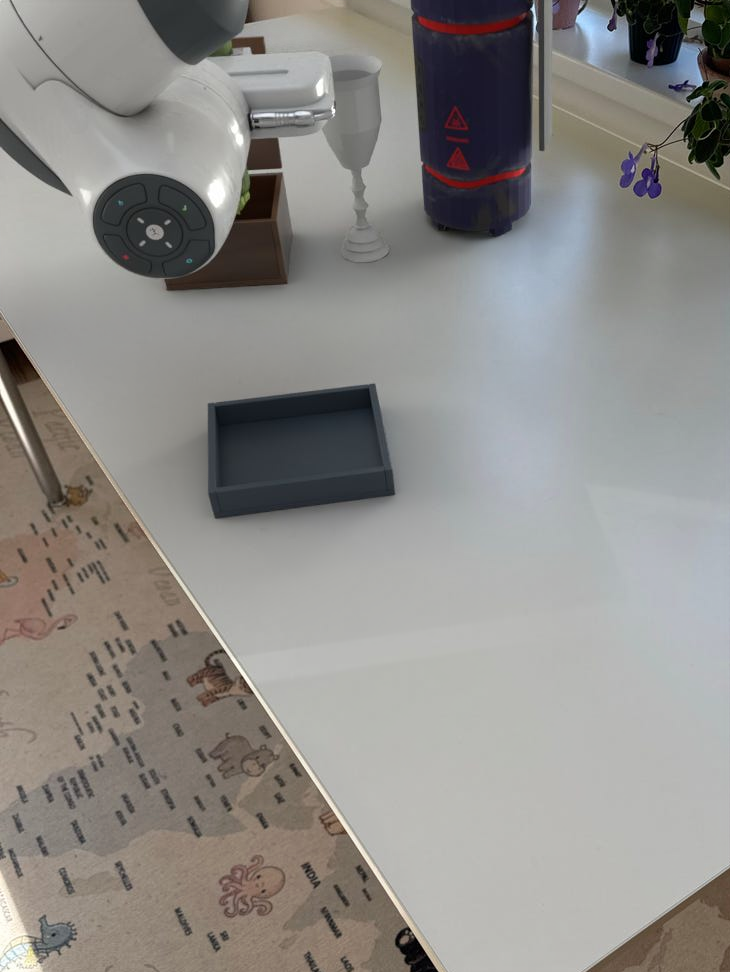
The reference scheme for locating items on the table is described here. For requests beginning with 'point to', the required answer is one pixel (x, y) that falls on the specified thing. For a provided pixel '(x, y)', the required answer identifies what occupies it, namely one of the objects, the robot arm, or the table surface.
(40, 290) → the table surface
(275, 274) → the chest
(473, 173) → the navy canister
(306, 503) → the tray
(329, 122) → the chalice
